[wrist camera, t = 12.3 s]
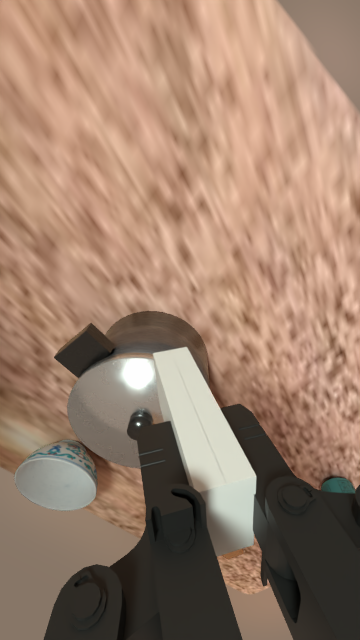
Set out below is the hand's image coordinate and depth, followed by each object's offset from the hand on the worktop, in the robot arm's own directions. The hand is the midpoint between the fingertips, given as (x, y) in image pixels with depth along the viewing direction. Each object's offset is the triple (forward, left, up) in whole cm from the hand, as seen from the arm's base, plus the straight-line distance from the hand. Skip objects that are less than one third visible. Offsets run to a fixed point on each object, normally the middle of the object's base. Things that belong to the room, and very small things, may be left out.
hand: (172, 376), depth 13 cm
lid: (+2, -24, -19) cm, 31 cm away
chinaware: (-16, -47, -31) cm, 59 cm away
